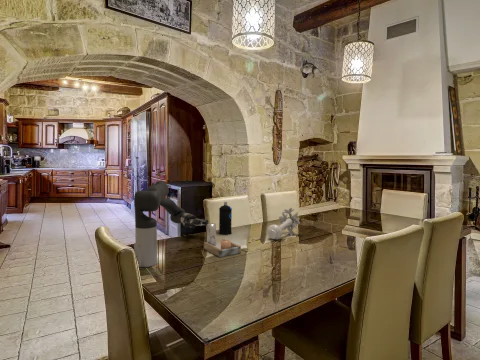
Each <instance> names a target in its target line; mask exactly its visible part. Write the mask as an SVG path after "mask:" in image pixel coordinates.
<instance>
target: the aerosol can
mask: <svg viewBox="0 0 480 360" xmlns="http://www.w3.org/2000/svg"><path fill="white" fill-rule="evenodd" d="M218 210H219V211H218V212H219V214H218V219H219V220H218V221H219V222H218V227H219V228H218V234H219V235H221V234H222V236H229V235H232V219H233V218H232V216H233V215H232V212H233V211H232V210H233V208H232V207H231V206H229V205H228V202H227V201H224V202H223V205H221V206H220V207H219V208H218ZM228 234H229V235H228Z"/></svg>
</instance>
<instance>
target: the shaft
mask: <svg viewBox="0 0 480 360" xmlns="http://www.w3.org/2000/svg"><path fill="white" fill-rule="evenodd" d="M206 242H207V243H209V244H211V245H213V246H215V247H217V224H216V223H213V222H208V224H207V226H206Z"/></svg>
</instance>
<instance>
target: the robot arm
mask: <svg viewBox="0 0 480 360" xmlns="http://www.w3.org/2000/svg"><path fill="white" fill-rule="evenodd" d="M169 192H170V189H169V185H168V184H167V183H166V182H165V181H164V180H159V181H157V182H155V183H153V184H151V185H149V186H147V189H145V190H138V191H136V192H135V193H134V197H133V203H134V206H133V207H134V223H135V228H134V229H135V242H134V243H133V248H134V249H133V251H135V253H136V256H137V260H138V264H139V267H138V268H148V267H152V266H156V265H157V264H158V243H157V242H158V232H157V230H158V228H157V227H158V226H157V225H158V222H157V220H156V219H155V218H153V217H150V216H148V215H147V214H145V213H144V212H156V211H158V210H159V208H160V207H162V208H163V209H165V210H166V212H167V213H168V214H169V215H170V217H169V218H170V221H171V222H172V223H173V224H174V223H175V224H182V226H184V227H185V228H192V229H196V227H197V226H200V227H202V226H205V227H207V224H208V223H209V220H208V219H205V218H202V219H201V218H198V217H197V216H196V215H194V214H192V213H188V212H186V211H185V209H184V208H182V207H180V206H178V205H177V204H176V202H175V201H174V200H172V199H169V198H165V197H166V196H167V195H169V194H170V193H169Z"/></svg>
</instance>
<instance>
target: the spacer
mask: <svg viewBox="0 0 480 360" xmlns="http://www.w3.org/2000/svg"><path fill="white" fill-rule="evenodd" d="M228 248H231V240H229V239H225V240H221V241H220V249H221V250H223V249H228Z"/></svg>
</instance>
